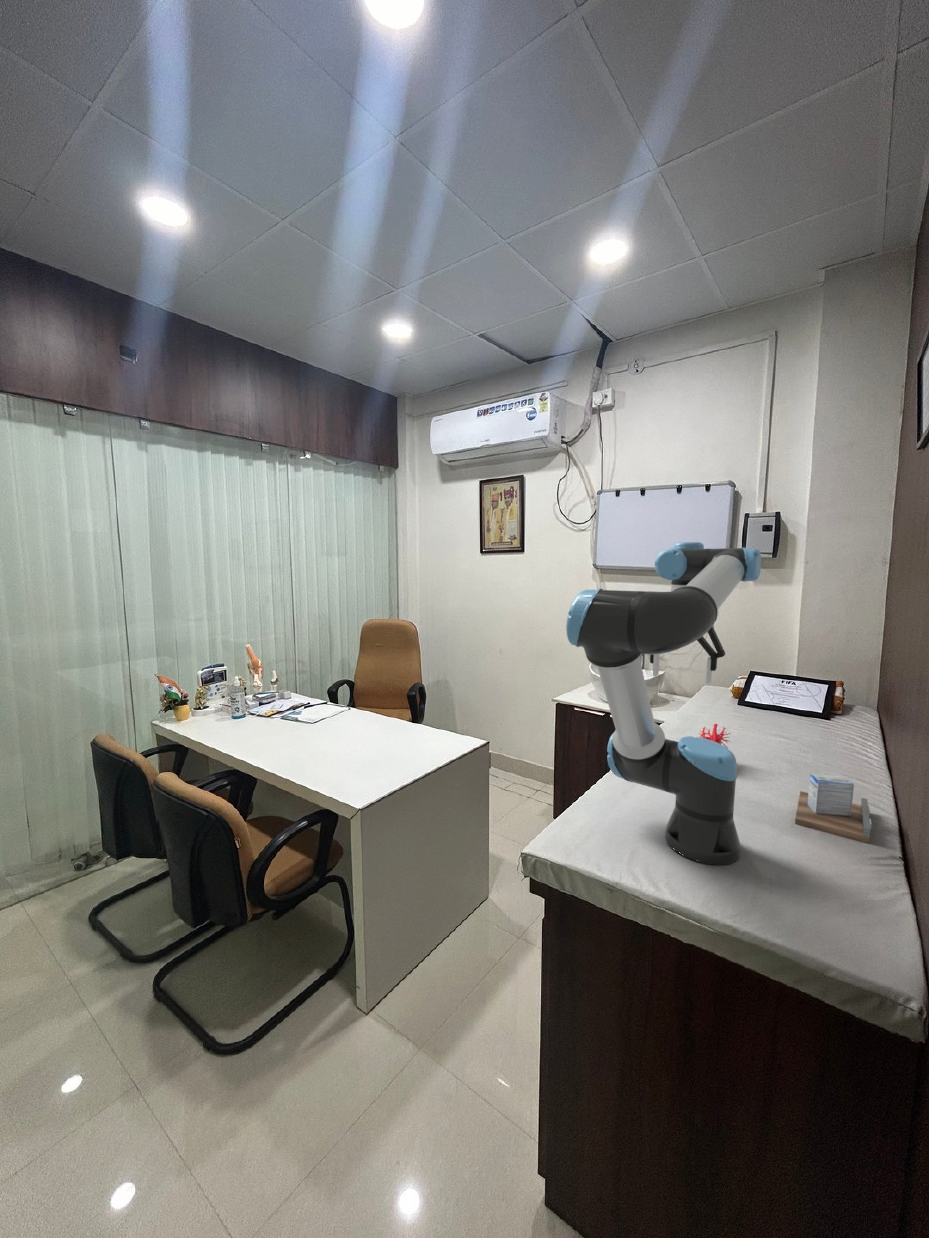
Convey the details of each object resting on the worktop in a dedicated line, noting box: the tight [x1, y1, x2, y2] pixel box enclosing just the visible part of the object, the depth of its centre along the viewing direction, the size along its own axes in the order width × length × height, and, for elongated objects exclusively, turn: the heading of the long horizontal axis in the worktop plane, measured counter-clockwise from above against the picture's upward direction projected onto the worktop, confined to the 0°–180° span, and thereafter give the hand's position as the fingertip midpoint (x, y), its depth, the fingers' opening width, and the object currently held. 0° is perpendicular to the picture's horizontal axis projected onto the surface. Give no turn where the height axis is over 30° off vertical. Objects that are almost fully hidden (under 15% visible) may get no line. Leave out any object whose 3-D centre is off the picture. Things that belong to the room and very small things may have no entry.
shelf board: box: [794, 791, 872, 844], centre depth 123 cm, size 18×14×4 cm
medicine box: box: [808, 773, 855, 816], centre depth 123 cm, size 8×4×9 cm, turn 78°
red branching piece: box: [697, 723, 732, 748], centre depth 155 cm, size 10×12×12 cm
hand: (681, 678), depth 135 cm, fingers open, 13 cm apart
